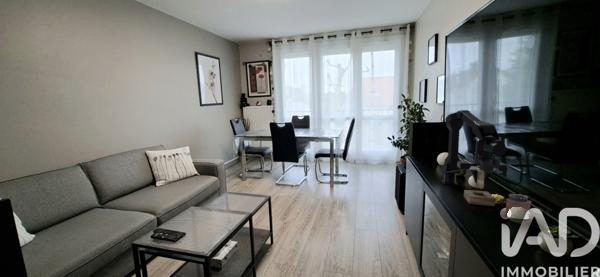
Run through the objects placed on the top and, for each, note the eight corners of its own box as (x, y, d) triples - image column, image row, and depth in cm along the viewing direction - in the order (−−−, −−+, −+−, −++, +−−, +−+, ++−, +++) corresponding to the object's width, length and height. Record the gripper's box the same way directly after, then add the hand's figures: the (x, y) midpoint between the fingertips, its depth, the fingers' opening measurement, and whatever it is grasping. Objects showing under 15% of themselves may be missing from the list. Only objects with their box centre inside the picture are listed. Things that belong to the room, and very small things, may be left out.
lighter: (526, 217, 105) (529, 194, 103) (530, 220, 101) (533, 197, 100) (503, 214, 107) (505, 192, 106) (506, 218, 104) (509, 195, 103)
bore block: (463, 196, 127) (464, 189, 126) (487, 198, 124) (487, 191, 123) (469, 203, 119) (469, 196, 118) (494, 206, 115) (495, 198, 115)
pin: (474, 186, 122) (476, 170, 121) (482, 186, 121) (483, 170, 120) (476, 188, 119) (478, 171, 118) (484, 188, 118) (486, 172, 117)
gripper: (464, 154, 113) (462, 187, 115) (515, 156, 107) (511, 191, 110) (458, 149, 123) (455, 179, 126) (504, 150, 117) (500, 182, 120)
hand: (479, 183), depth 120 cm, fingers closed on pin, 3 cm apart
